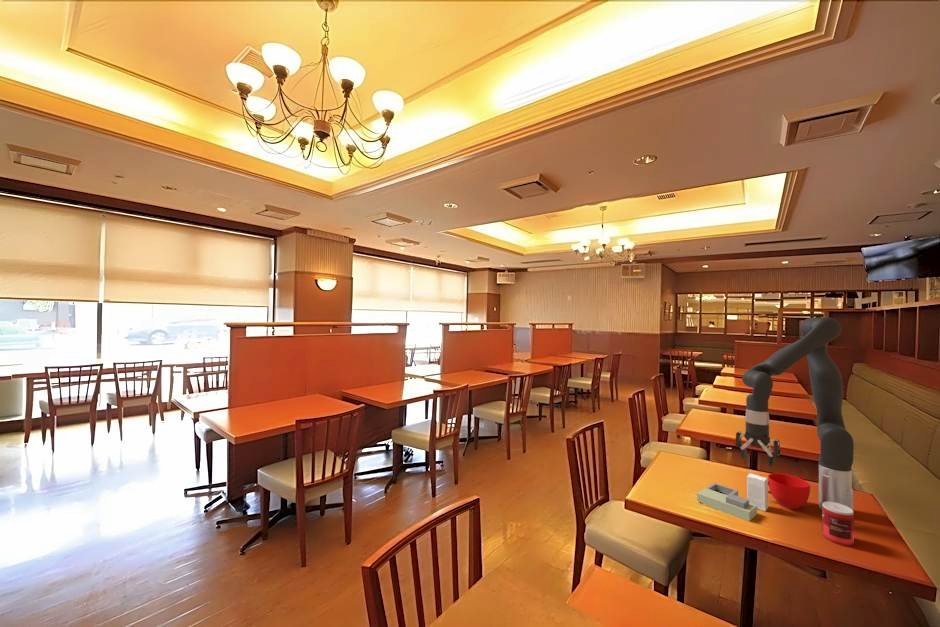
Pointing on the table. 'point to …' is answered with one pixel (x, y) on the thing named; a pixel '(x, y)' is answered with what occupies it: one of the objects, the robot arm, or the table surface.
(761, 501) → the skincare box
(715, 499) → the green base with arch
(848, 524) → the canned food
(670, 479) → the table surface
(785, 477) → the ceramic cup
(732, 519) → the table surface
